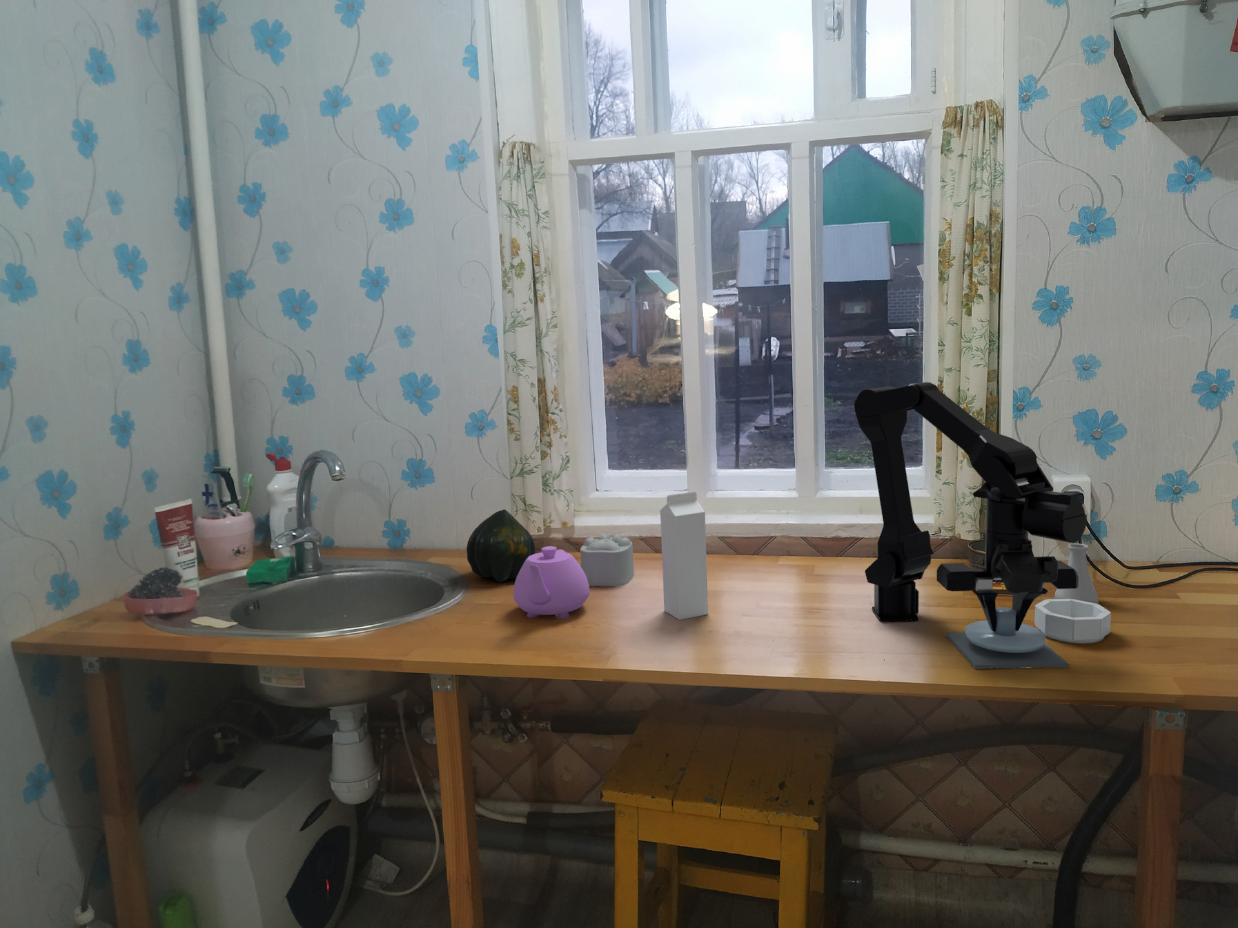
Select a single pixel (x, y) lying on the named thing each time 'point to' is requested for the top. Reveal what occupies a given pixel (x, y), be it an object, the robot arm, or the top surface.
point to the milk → (684, 556)
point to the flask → (1085, 582)
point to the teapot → (550, 584)
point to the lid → (1005, 634)
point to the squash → (499, 547)
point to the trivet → (1005, 656)
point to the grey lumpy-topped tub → (607, 560)
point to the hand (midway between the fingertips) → (1004, 630)
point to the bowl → (1072, 620)
